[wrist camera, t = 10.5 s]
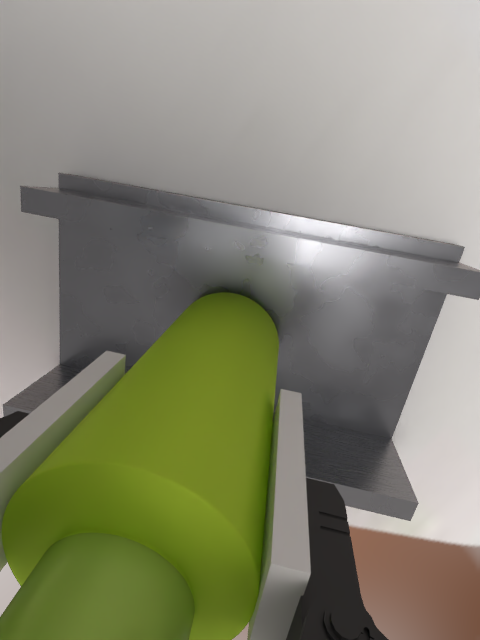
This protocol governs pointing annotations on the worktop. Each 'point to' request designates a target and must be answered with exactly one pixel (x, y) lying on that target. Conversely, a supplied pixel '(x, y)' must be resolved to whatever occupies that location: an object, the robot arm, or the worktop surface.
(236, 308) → the soap dispenser
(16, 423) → the robot arm
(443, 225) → the worktop surface
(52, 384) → the track
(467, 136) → the worktop surface
